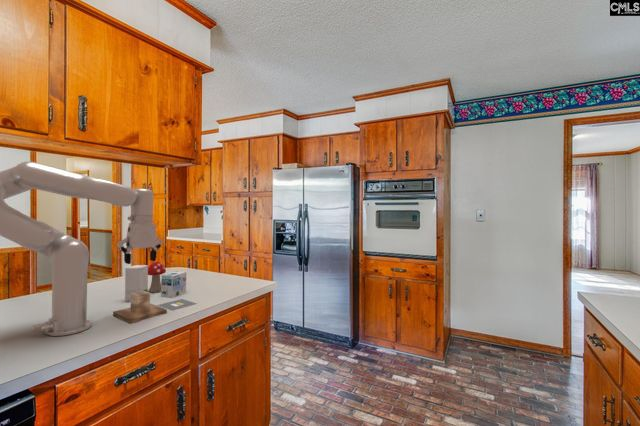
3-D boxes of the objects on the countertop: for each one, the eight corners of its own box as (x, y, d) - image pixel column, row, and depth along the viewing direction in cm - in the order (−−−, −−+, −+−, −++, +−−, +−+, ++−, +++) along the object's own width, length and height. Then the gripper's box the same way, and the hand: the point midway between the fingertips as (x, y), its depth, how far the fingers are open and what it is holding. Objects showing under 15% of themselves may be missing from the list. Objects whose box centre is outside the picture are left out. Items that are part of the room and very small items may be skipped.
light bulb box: (172, 298, 147) (173, 275, 147) (160, 297, 148) (160, 274, 148) (186, 292, 157) (187, 271, 157) (175, 291, 159) (175, 270, 158)
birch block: (136, 313, 120) (137, 295, 120) (130, 311, 123) (130, 293, 123) (149, 310, 124) (150, 293, 124) (143, 307, 127) (143, 291, 127)
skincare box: (138, 302, 139) (138, 268, 139) (123, 302, 139) (124, 267, 139) (148, 297, 148) (148, 264, 147) (134, 296, 148) (135, 264, 147)
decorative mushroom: (154, 288, 164) (154, 260, 163) (169, 289, 163) (169, 260, 162) (141, 293, 154) (141, 263, 153) (157, 294, 153) (158, 264, 153)
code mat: (172, 311, 129) (172, 310, 129) (156, 305, 135) (156, 305, 135) (197, 304, 139) (197, 303, 139) (182, 299, 146) (182, 298, 146)
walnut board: (130, 323, 114) (130, 319, 114) (113, 315, 122) (113, 311, 122) (166, 313, 126) (166, 309, 126) (148, 306, 134) (148, 303, 134)
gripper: (123, 220, 114) (121, 266, 114) (168, 219, 129) (166, 260, 129) (113, 219, 118) (112, 263, 118) (158, 219, 133) (156, 258, 133)
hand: (140, 262), depth 123 cm, fingers open, 9 cm apart
